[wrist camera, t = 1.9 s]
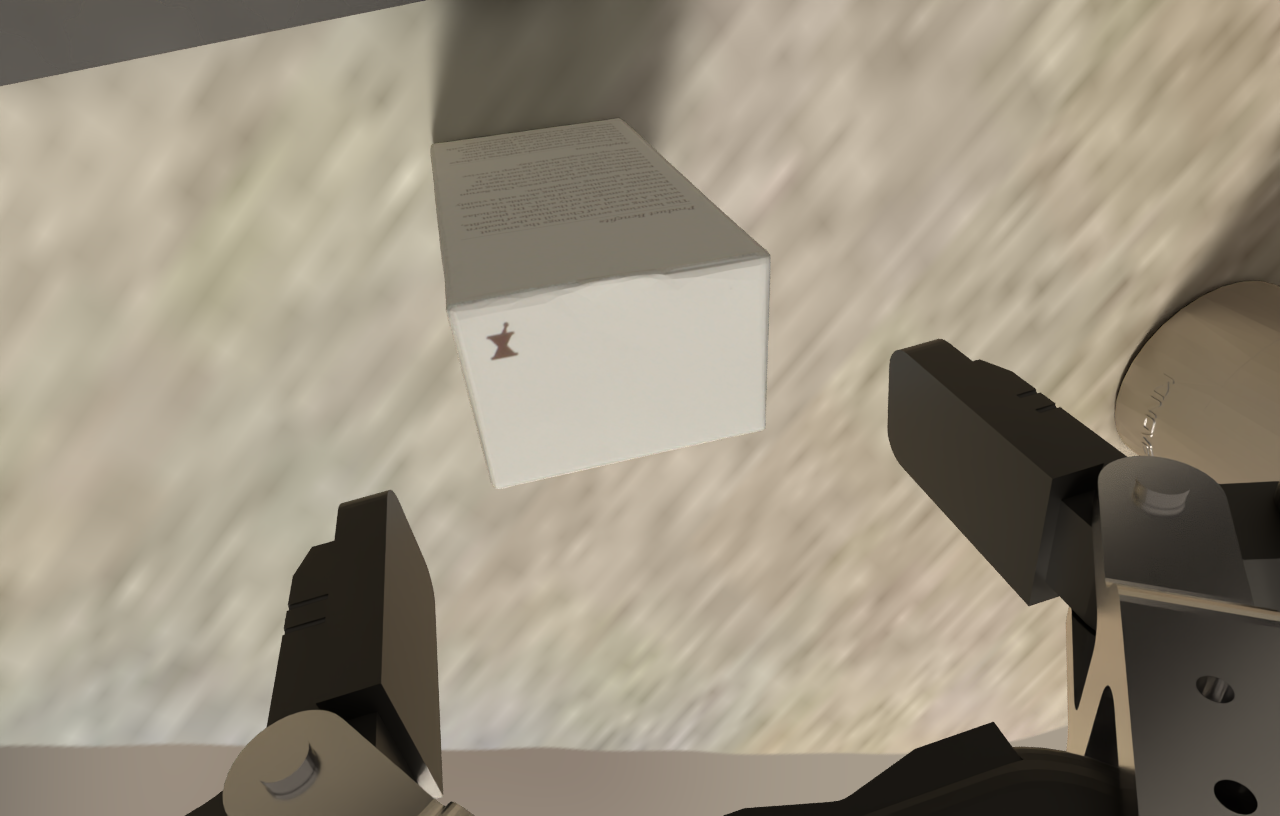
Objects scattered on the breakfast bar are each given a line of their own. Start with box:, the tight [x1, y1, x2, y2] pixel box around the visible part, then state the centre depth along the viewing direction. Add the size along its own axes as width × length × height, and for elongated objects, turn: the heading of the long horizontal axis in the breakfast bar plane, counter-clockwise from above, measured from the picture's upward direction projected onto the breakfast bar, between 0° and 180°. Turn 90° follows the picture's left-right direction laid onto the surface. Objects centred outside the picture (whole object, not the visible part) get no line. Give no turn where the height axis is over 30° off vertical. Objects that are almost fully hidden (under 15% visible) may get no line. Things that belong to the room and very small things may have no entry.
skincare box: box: [430, 118, 770, 489], centre depth 20 cm, size 6×4×12 cm
